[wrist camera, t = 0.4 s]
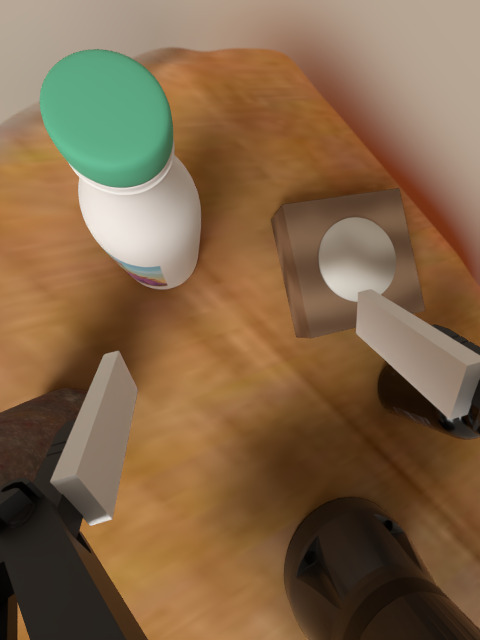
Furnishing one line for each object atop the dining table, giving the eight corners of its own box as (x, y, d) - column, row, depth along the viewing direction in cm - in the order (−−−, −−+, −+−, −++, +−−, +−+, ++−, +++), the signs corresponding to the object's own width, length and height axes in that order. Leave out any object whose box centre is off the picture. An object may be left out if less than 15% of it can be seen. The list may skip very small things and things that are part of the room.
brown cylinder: (24, 391, 27) (-451, 570, 7) (104, 376, 28) (-104, 489, 8) (37, 468, 27) (-400, 867, 7) (116, 449, 28) (-61, 739, 8)
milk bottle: (174, 207, 30) (145, -28, 10) (210, 269, 30) (249, 156, 11) (109, 240, 29) (-68, 40, 9) (148, 303, 29) (61, 247, 9)
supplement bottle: (430, 399, 35) (553, 435, 23) (387, 423, 34) (494, 474, 22) (411, 350, 35) (526, 360, 23) (367, 372, 33) (464, 395, 22)
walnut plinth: (398, 312, 34) (427, 310, 30) (296, 337, 32) (312, 338, 28) (375, 204, 34) (401, 186, 30) (270, 220, 32) (283, 203, 28)
